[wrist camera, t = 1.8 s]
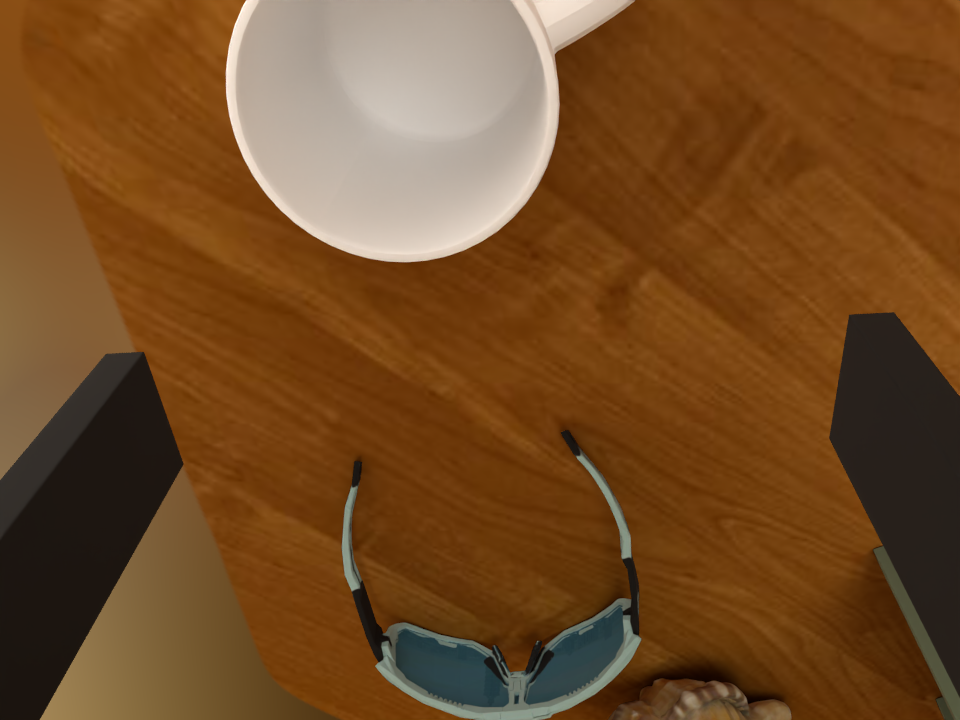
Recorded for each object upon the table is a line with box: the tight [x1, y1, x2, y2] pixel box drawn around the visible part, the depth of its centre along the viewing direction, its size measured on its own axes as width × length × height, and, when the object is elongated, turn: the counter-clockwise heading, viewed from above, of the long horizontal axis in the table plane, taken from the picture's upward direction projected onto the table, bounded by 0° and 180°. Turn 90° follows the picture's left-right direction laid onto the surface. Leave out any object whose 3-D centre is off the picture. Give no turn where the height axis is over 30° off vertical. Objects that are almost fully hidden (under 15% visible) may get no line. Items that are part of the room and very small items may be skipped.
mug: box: [226, 0, 635, 262], centre depth 24 cm, size 12×8×10 cm
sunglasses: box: [342, 430, 642, 720], centre depth 41 cm, size 14×15×5 cm
